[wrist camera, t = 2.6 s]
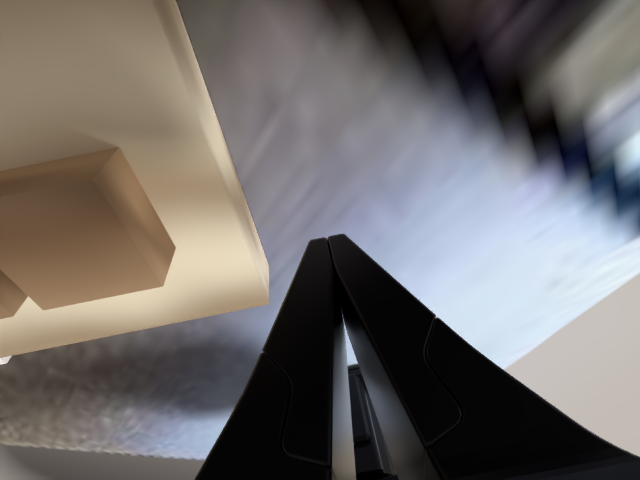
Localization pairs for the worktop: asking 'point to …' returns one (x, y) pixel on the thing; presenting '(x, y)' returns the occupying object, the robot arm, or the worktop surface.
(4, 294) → the walnut tile
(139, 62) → the birch plate
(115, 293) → the walnut tile
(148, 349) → the worktop surface
